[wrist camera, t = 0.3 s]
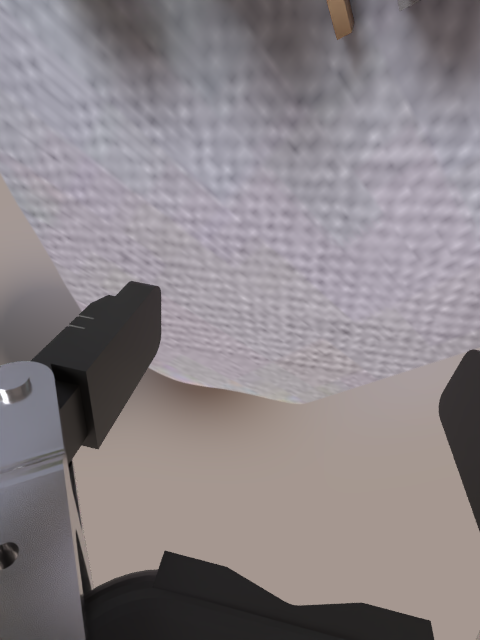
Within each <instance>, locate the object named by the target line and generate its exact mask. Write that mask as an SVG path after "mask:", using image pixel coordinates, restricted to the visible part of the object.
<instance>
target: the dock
mask: <svg viewBox="0 0 480 640" xmlns="http://www.w3.org/2000/svg"><path fill="white" fill-rule="evenodd" d="M327 4H328V8H329V12H330V15H331V19H332V23H333V27H334V30H335V34H336V38H337V40H338V39H340V38H342V37H344V36H346V35H348V34H350V33H352V30H353V26H354V18H353V14H352V10H351V6H350V1H349V0H327Z"/></svg>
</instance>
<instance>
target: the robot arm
mask: <svg viewBox="0 0 480 640" xmlns="http://www.w3.org/2000/svg"><path fill="white" fill-rule="evenodd" d="M160 340H161V290H160V288H159V287H158V286H154V285H149V284H144V283H139V282H134V281H130V282H129V283H128V284H127V285H126V286H125V287H124V288H123V289H122V290H121V291H120V292H119V293H118V294H117V295H116V296H111V295H108V296H105V297H103V298H101V299H99V300H97V301H95V302H93V303H91V304H90V305H89V306H88V307H87V308H86V309H84V310H83V311H82V312H81V313H80V314H79V317H76V318H75V319H74V320H73V321H72V322H71V323H70V324H69V327H66V328H65V329H64V330H63V331H62V332H60V333H59V334H58V335H57V336H56V337H55V338H54V339H53V340H52V341H51V342H50V343H49V344H48V345H47V346H46V347H45V348H44V349H43V350H42V351H41V352H40V353H39V354H38V355H36V356H35V358H33V359H32V360H31V361H19V362H12V363H8V364H5V365H2V366H0V640H434V637H433V631H432V626H431V621H429V620H425V619H422V618H417V617H414V616H410V615H406V614H402V613H399V612H395V611H391V610H388V609H384V608H380V607H376V606H372V605H369V604H365V603H346V604H324V605H304V606H297V605H291V604H289V603H286V602H284V601H283V600H281V599H279V598H278V597H276V596H274V595H273V594H271V593H269V592H268V591H266V590H264V589H263V588H261V587H259V586H258V585H256V584H254V583H253V582H251V581H249V580H248V579H246V578H244V577H243V576H241V575H239V574H237V573H236V572H234V571H233V570H231V569H229V568H228V567H225V566H221V565H217V564H213V563H209V562H205V561H202V560H198V559H195V558H190V557H187V556H183V555H179V554H176V553H172V552H168V551H164V555H163V557H162V560H161V563H160V566H159V569H158V570H145V571H140V572H134V573H130V574H127V575H124V576H121V577H118V578H115V579H113V580H111V581H108V582H106V583H104V584H102V585H100V586H98V587H96V588H95V589H94V588H93V581H92V575H91V570H90V565H89V558H88V553H87V548H86V542H85V536H84V530H83V523H82V517H81V511H80V504H79V497H78V490H77V484H76V477H75V471H74V464H73V459H72V458H73V457H74V455H75V454H76V452H77V450H78V449H79V448H80V446H81V445H83V446H87V447H91V448H95V449H99V447H100V445H101V444H102V442H103V441H104V439H105V437H106V435H107V434H108V432H109V431H110V429H111V427H112V426H113V424H114V422H115V421H116V419H117V418H118V416H119V414H120V413H121V411H122V409H123V408H124V406H125V404H126V403H127V401H128V399H129V398H130V396H131V395H132V393H133V391H134V390H135V388H136V386H137V385H138V383H139V381H140V380H141V378H142V376H143V375H144V373H145V372H146V370H147V368H148V367H149V365H150V363H151V362H152V360H153V359H154V357H155V355H156V353H157V351H158V348H159V344H160ZM439 416H440V420H441V422H442V425H443V428H444V431H445V434H446V437H447V440H448V442H449V445H450V448H451V451H452V454H453V456H454V460H455V462H456V465H457V468H458V471H459V473H460V476H461V479H462V482H463V485H464V488H465V491H466V494H467V497H468V500H469V502H470V505H471V508H472V511H473V514H474V517H475V519H476V522H477V525H478V528H479V531H480V351H479V350H470V351H468V352H467V353H466V354H465V356H464V357H463V359H462V361H461V362H460V364H459V366H458V367H457V369H456V371H455V372H454V374H453V376H452V377H451V379H450V381H449V383H448V384H447V386H446V388H445V389H444V391H443V393H442V395H441V398H440V402H439ZM476 640H480V631H479V634H478V636H477V638H476Z"/></svg>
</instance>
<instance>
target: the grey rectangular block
mask: <svg viewBox="0 0 480 640" xmlns="http://www.w3.org/2000/svg"><path fill="white" fill-rule="evenodd" d="M419 1H421V0H398V5H399V11H401V10H403V9H405V8H407V7H409V6H411V5H413V4H415V3H417V2H419Z"/></svg>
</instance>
